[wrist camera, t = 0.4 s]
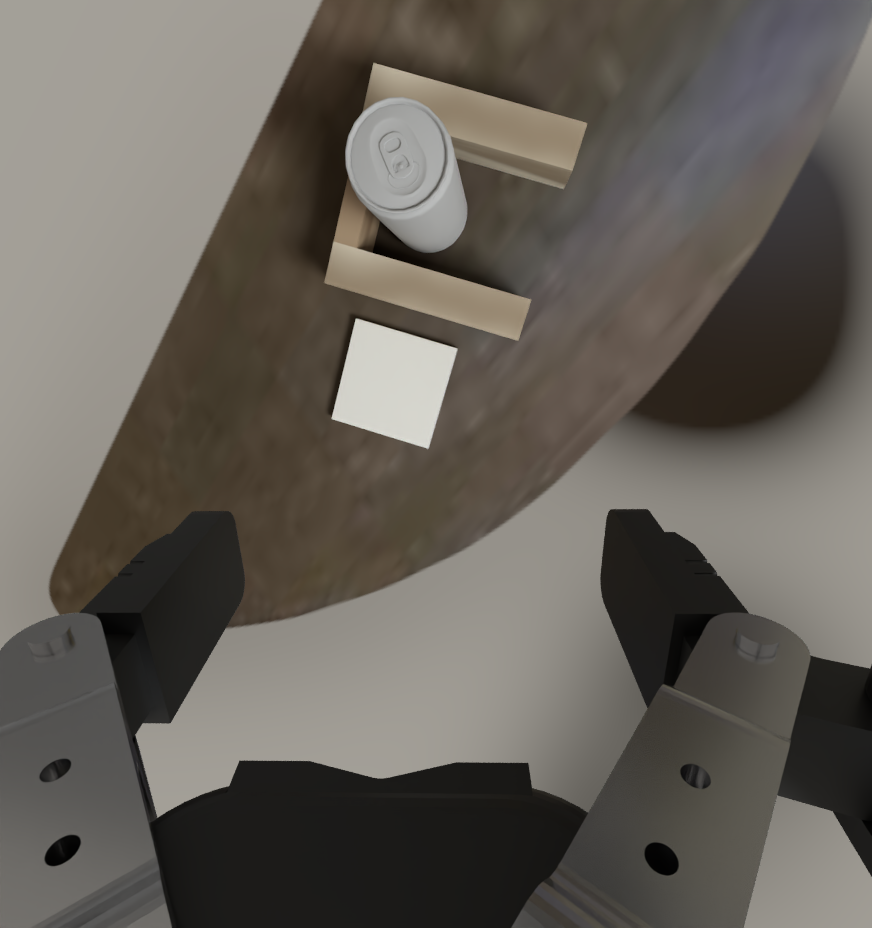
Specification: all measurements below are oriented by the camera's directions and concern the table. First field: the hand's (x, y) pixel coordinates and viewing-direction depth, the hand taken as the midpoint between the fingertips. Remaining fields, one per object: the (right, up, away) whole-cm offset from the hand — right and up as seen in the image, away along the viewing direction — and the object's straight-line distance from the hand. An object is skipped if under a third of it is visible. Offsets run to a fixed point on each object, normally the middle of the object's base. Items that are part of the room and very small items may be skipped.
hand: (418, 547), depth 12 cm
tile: (-2, +7, +26) cm, 27 cm away
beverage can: (0, +18, +24) cm, 29 cm away
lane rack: (+2, +17, +23) cm, 29 cm away
